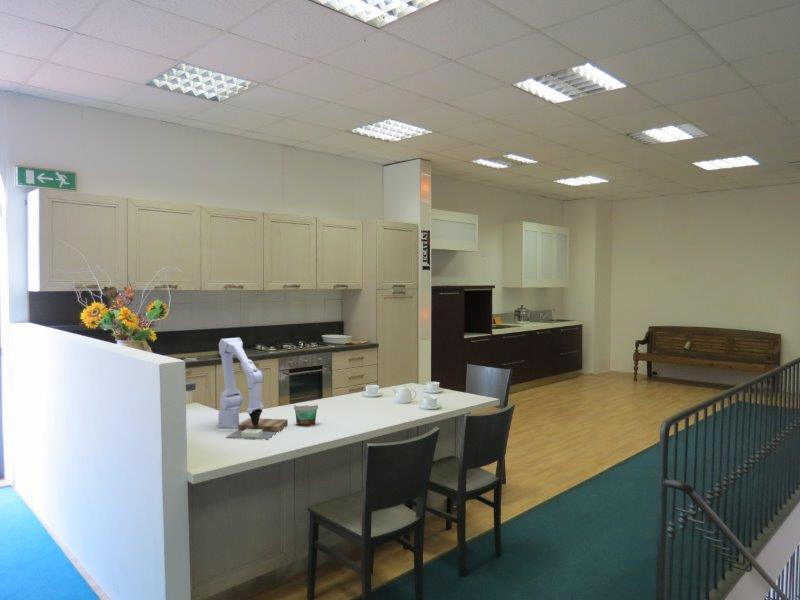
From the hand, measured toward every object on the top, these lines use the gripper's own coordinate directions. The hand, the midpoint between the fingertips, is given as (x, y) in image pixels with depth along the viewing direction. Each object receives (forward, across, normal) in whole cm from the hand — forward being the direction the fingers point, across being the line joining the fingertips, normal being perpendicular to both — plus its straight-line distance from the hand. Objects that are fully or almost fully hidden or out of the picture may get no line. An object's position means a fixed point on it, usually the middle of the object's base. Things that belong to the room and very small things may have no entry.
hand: (255, 425), depth 265 cm
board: (+4, +10, 0) cm, 11 cm away
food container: (+4, +19, -19) cm, 27 cm away
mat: (+4, -4, 0) cm, 5 cm away
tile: (+2, -4, 0) cm, 5 cm away
